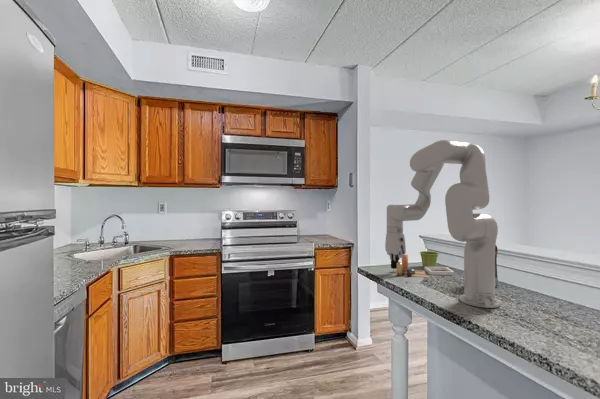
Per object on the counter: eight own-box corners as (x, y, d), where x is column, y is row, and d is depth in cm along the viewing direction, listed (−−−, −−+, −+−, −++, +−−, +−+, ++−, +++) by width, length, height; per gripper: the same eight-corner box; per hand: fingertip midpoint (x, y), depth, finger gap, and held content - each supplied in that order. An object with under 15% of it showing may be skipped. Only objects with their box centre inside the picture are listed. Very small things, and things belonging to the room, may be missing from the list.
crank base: (429, 279, 139) (429, 273, 139) (397, 278, 141) (397, 272, 141) (421, 272, 153) (421, 266, 153) (393, 271, 155) (392, 265, 155)
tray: (454, 277, 143) (454, 272, 143) (430, 276, 144) (430, 271, 144) (446, 271, 154) (446, 267, 154) (424, 271, 155) (424, 266, 155)
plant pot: (442, 269, 159) (442, 253, 159) (431, 271, 154) (431, 254, 154) (427, 266, 167) (427, 250, 167) (415, 268, 162) (415, 252, 162)
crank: (409, 271, 150) (409, 259, 150) (417, 273, 146) (416, 260, 146) (393, 274, 144) (393, 262, 144) (401, 276, 140) (401, 263, 140)
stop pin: (408, 271, 150) (408, 255, 150) (402, 271, 151) (402, 255, 151) (407, 270, 153) (407, 254, 153) (401, 270, 154) (401, 254, 154)
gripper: (411, 231, 140) (411, 271, 140) (391, 228, 154) (391, 264, 154) (398, 232, 137) (398, 272, 137) (378, 229, 151) (378, 265, 152)
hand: (394, 268), depth 146 cm, fingers closed
